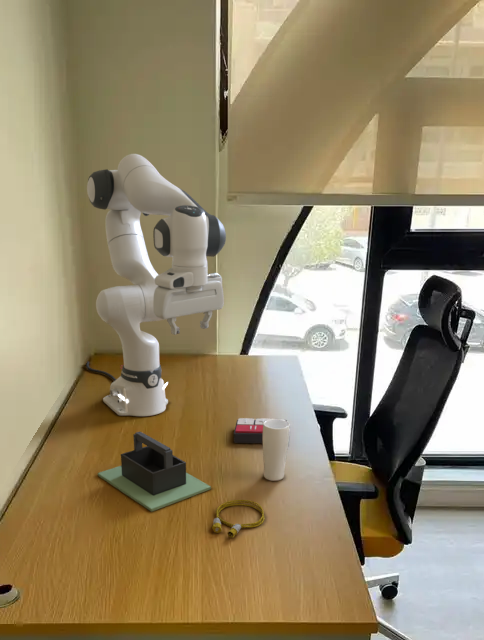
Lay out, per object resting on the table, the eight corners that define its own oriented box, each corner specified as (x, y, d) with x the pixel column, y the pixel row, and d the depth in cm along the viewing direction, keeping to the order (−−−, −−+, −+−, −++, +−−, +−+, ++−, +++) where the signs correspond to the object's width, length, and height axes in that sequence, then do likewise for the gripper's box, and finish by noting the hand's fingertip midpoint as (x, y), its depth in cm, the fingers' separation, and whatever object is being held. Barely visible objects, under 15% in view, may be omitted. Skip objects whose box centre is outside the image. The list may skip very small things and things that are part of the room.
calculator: (237, 416, 206) (287, 417, 205) (237, 430, 208) (287, 430, 206) (233, 431, 196) (286, 431, 195) (233, 444, 198) (286, 445, 197)
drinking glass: (272, 468, 183) (275, 416, 177) (292, 477, 179) (295, 424, 172) (255, 476, 179) (257, 423, 172) (274, 485, 175) (277, 431, 168)
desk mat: (97, 475, 177) (97, 472, 177) (155, 457, 188) (155, 454, 188) (151, 511, 161) (151, 508, 161) (210, 489, 172) (210, 486, 172)
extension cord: (192, 520, 158) (192, 513, 157) (241, 499, 168) (241, 491, 167) (228, 542, 150) (228, 534, 149) (277, 518, 160) (278, 510, 159)
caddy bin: (121, 475, 176) (119, 436, 171) (154, 464, 182) (152, 426, 177) (153, 495, 167) (151, 455, 162) (186, 483, 173) (185, 444, 168)
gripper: (213, 269, 179) (213, 322, 185) (149, 278, 167) (150, 334, 173) (229, 273, 175) (228, 327, 181) (164, 282, 163) (165, 340, 169)
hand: (190, 330), depth 177 cm, fingers open, 8 cm apart
